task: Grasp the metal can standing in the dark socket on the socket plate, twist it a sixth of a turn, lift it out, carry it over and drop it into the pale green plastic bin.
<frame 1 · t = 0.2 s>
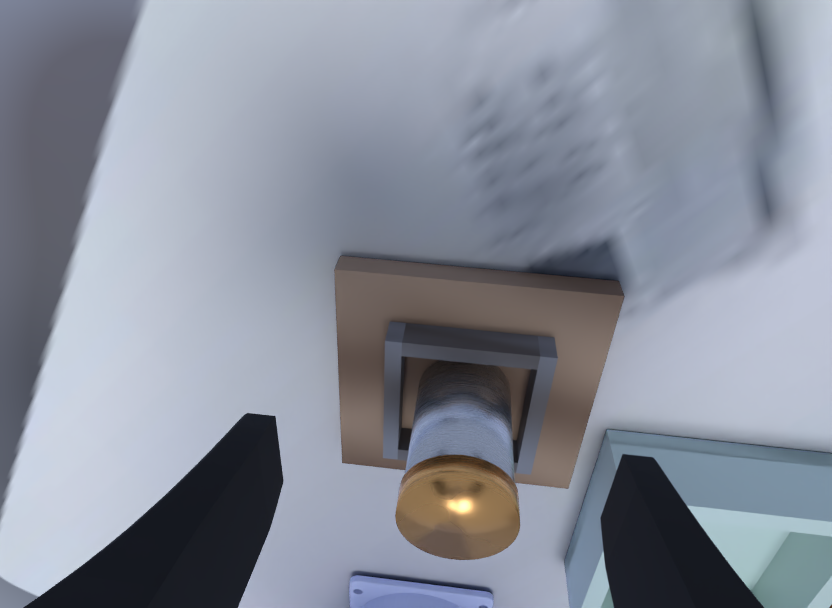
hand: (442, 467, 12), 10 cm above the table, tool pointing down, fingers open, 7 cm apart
bin: (688, 514, 26), on the table
socket plate: (464, 374, 23), on the table
metal can: (464, 390, 22), point 1 cm above the table, touching socket plate
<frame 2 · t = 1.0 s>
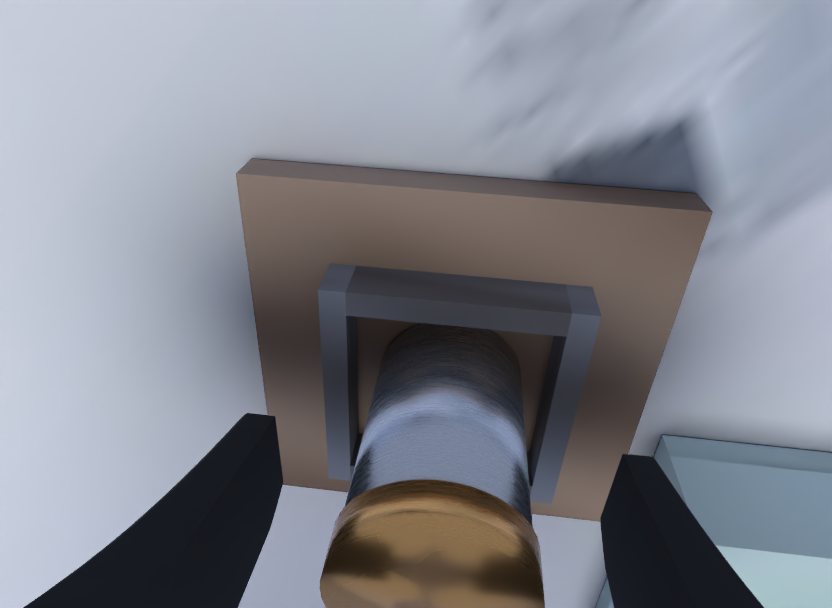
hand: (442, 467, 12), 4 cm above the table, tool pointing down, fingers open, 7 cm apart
bin: (771, 556, 19), on the table
socket plate: (451, 352, 16), on the table
metal can: (449, 375, 15), point 1 cm above the table, touching socket plate
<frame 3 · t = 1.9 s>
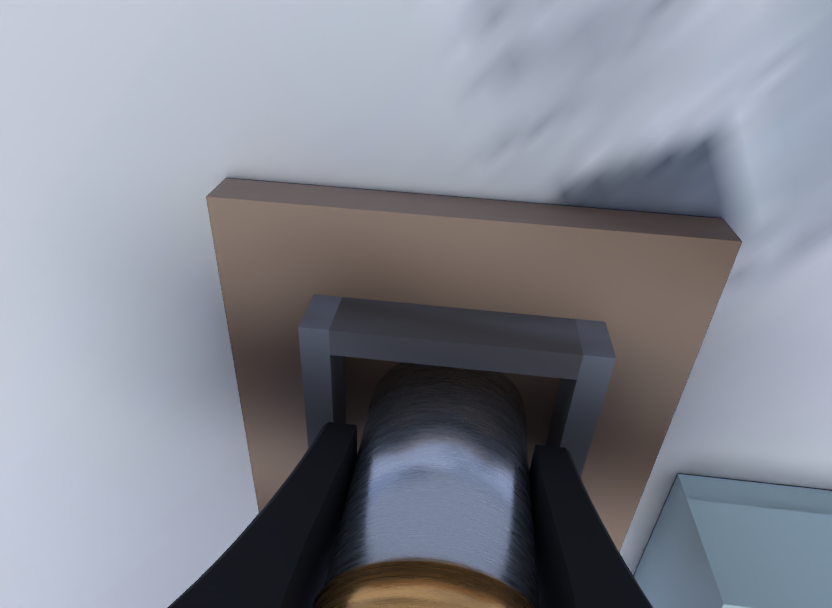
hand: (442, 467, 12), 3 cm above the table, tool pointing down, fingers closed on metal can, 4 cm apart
bin: (793, 598, 17), on the table
socket plate: (449, 386, 14), on the table
metal can: (446, 414, 13), point 1 cm above the table, touching gripper, socket plate
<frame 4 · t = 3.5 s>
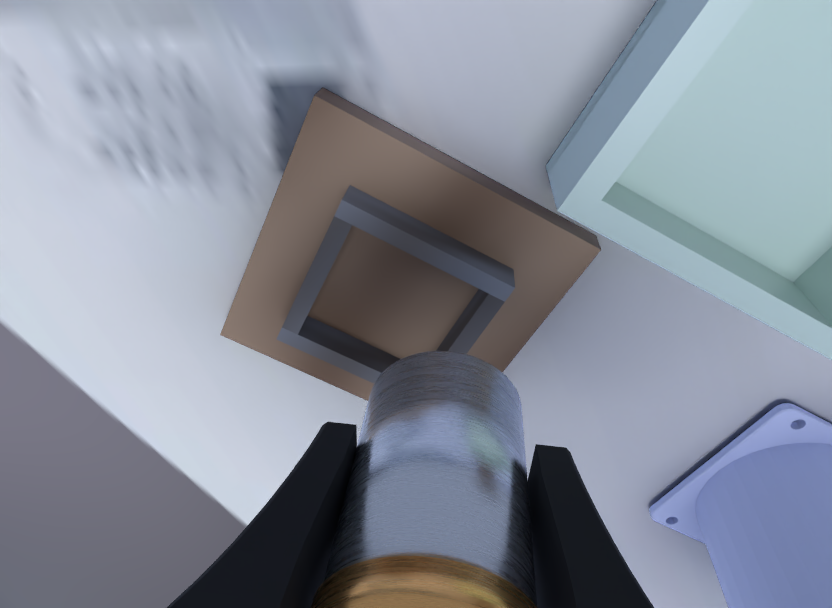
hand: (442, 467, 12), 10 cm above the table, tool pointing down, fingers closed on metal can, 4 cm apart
bin: (784, 102, 16), on the table
socket plate: (397, 281, 21), on the table
metal can: (444, 411, 13), point 8 cm above the table, touching gripper
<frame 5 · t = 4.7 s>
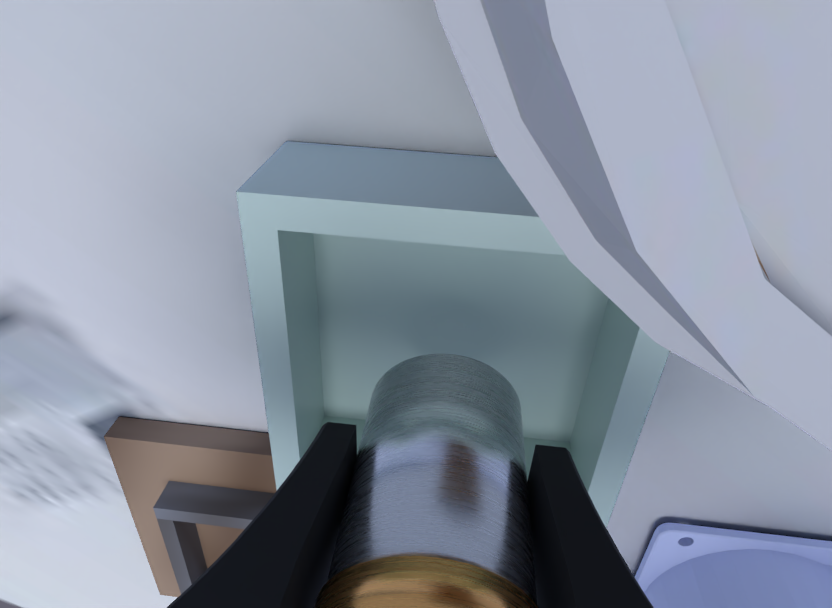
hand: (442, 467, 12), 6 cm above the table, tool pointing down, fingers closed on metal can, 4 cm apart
bin: (456, 313, 17), on the table
socket plate: (264, 518, 23), on the table
metal can: (444, 413, 14), point 4 cm above the table, touching gripper
when the fingers open (4 cm above the table, at t = 5.5 s): metal can stays where it is, resting on bin.
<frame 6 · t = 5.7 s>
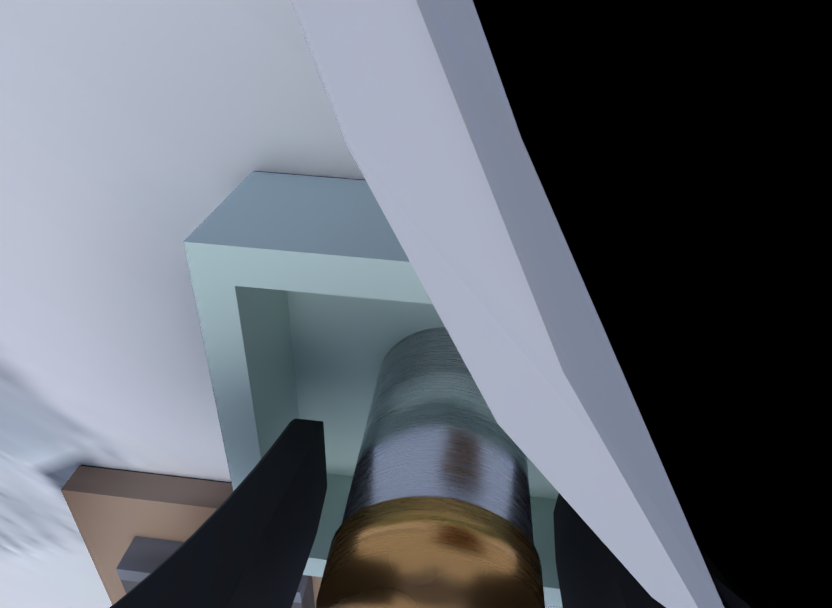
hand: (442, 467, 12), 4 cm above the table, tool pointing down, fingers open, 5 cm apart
bin: (451, 361, 15), on the table
socket plate: (243, 571, 22), on the table
metal can: (448, 385, 14), point 1 cm above the table, touching bin
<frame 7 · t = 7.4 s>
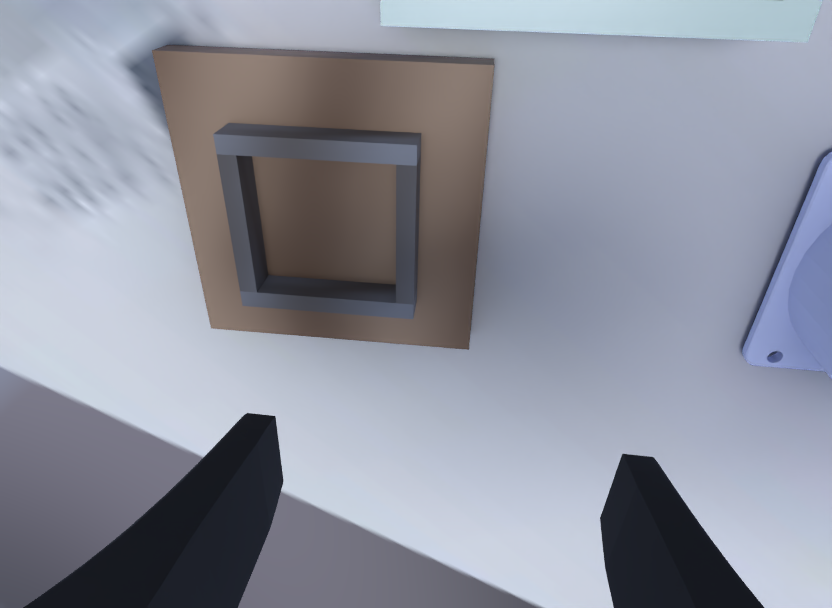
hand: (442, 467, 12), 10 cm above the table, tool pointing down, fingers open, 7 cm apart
socket plate: (336, 206, 20), on the table
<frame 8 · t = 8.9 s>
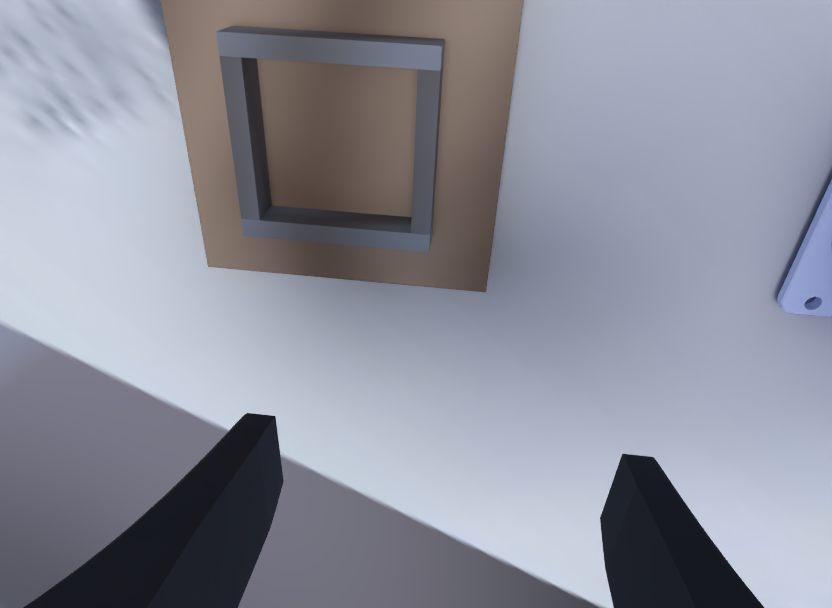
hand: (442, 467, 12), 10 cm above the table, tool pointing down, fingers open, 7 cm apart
socket plate: (347, 129, 18), on the table
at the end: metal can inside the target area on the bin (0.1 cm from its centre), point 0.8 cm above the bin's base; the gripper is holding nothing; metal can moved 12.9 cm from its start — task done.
